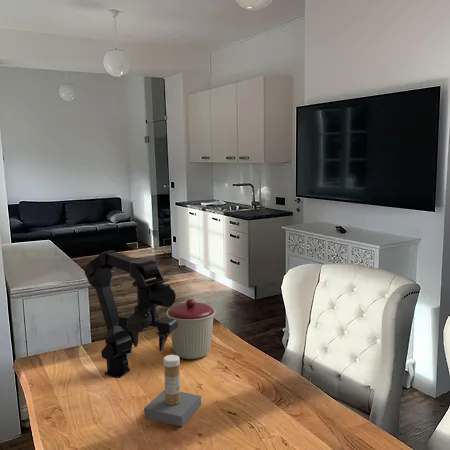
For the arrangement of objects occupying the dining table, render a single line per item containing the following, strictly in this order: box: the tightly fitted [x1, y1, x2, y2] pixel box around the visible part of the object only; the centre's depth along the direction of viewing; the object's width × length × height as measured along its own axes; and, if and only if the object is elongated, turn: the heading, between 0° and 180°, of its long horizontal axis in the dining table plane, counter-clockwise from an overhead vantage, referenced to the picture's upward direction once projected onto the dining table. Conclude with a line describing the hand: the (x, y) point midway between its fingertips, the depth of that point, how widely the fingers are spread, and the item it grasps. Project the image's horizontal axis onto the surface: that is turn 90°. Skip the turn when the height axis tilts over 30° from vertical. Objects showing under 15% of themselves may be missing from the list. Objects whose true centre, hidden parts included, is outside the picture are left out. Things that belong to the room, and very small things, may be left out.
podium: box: [143, 388, 202, 428], centre depth 135 cm, size 12×12×3 cm
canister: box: [165, 298, 216, 360], centre depth 174 cm, size 18×18×21 cm
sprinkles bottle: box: [163, 354, 181, 405], centre depth 134 cm, size 5×5×13 cm
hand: (148, 348), depth 148 cm, fingers open, 9 cm apart
